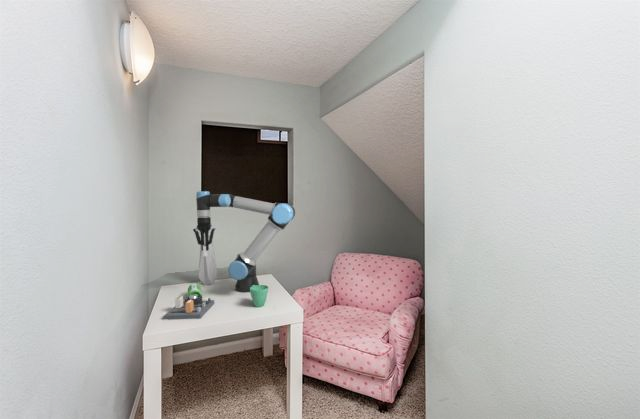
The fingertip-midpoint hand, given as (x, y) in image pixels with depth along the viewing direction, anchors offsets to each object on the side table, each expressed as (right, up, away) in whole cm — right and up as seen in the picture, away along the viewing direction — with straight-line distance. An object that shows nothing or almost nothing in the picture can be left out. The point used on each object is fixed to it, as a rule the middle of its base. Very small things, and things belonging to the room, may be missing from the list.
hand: (205, 255), depth 186 cm
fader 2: (+3, -23, -30) cm, 39 cm away
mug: (+35, -25, -16) cm, 46 cm away
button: (0, -23, -17) cm, 28 cm away
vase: (-8, -24, +28) cm, 37 cm away
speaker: (-5, -25, -4) cm, 26 cm away
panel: (+1, -26, -24) cm, 35 cm away
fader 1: (-5, -23, -24) cm, 34 cm away
